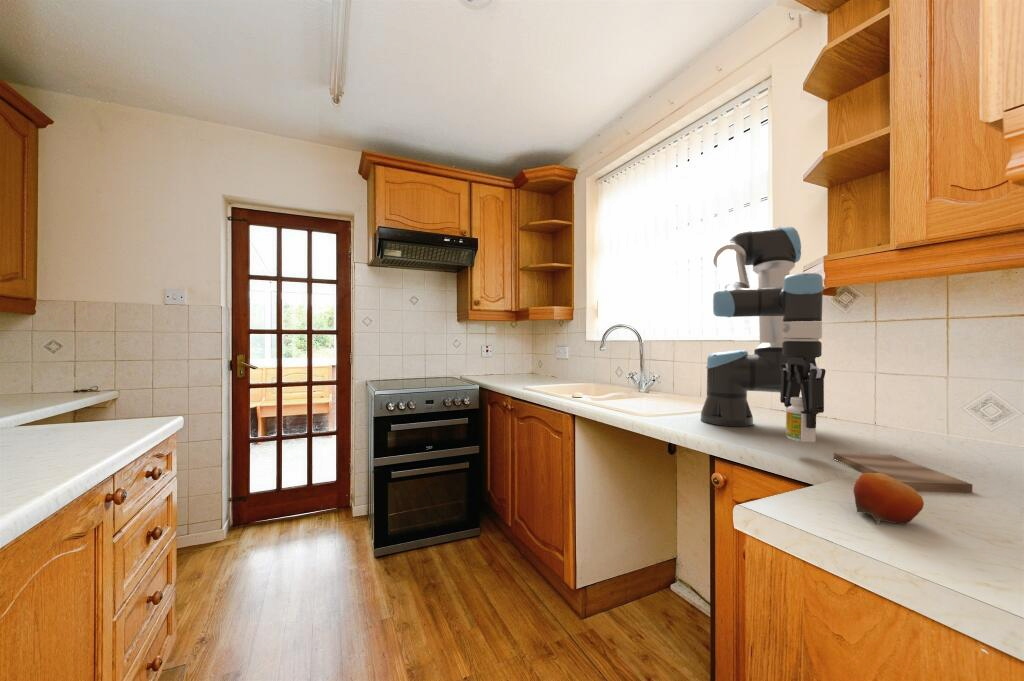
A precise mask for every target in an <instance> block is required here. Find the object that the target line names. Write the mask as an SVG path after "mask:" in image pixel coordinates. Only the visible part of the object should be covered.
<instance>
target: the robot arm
mask: <svg viewBox="0 0 1024 681" xmlns="http://www.w3.org/2000/svg"><path fill="white" fill-rule="evenodd" d="M801 256H802V243H801V238H800V234H799V233H798V231H797V229H796V228H795V227H792V226H777V227H770V228H769V227H767V228H757V229H750V230H748V229H747V230H739V231H736V232H734V233H731V234H730V235H728V236H726V237H724V238H723V239H722V240H721V241H720V242H719V243H718V244H717V245H716V247H715V249H714V250H713V255H712V260H713V261H712V262H713V265H714V266H715V268H717V276H718V287H719V289H716V290H714V292H713V296H712V309H713V310H712V312H713V315H714V316H716V317H721V318H722V317H723V318H735V317H736V318H737V317H739V318H740V317H741V318H742V317H758V318H759V319H758V322H759V327H758V328H759V330H758V331H759V344H758V345H757V346H756V347H755V348H754V350H753V351H754V352H753V353H754V354H749V353H748V350H746V349H745V350H743V349H742V350H741V349H740V350H739V349H738V350H730V351H720V352H713V353H711V354H709V355H708V356H707V358H706V359H707V362H706V363H707V364H706V367H705V368H706V369H707V370H706V398H705V401H704V404H703V406H702V410H701V411H700V412H701V413H700V420H701V421H702V422H704V423H708V424H713V425H717V426H725V427H749V426H752V425H754V416H753V413H752V411H751V408H750V405H749V402H748V392H762V393H763V392H765V393H766V392H767V393H779V394H780V396H779V398H780V399H779V400H780V403H781V404H784V407H785V408H786V409H785V420H786V421H785V433H786V432H787V408H788V407H789V406H791V405H792V404H791V402H790V400H791V397H800V395H801V397H802V401H803V408H804V411H801V441H800V442H803V443H804V442H805V443H806V442H807V443H816V437H817V436H816V433H817V429H816V428H817V415H819V414H821V413H824V412H825V376H826V372H827V371H826V369H825V368H819V367H818V366H817V362H816V358H820V357H822V356H823V355H822V354H823V353H822V352H823V351H822V348H823V346H822V343H823V342H822V341H821V340H819V339H823V318H822V317H823V294H824V293H823V291H824V289H825V288H824V287H825V286H823V284H824V283H823V276H822V274H820V273H816V272H815V273H814V272H813V273H812V272H810V273H795V274H790V272H791V271H792V270H793V269H794V268H795V267H796V263H798V262H799V261H800V260H801ZM746 266H752V271H753V272H754V273H756V274H757V276H758V279H757V280H758V281H757V282H758V287H751V286H750V282H749V278H748V273H747V270H746V269H747V268H746Z"/></svg>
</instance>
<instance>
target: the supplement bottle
mask: <svg viewBox="0 0 1024 681" xmlns="http://www.w3.org/2000/svg"><path fill="white" fill-rule="evenodd" d="M790 402H791V404H792V405H791V406H789V407H788V408H787V432H786V431H785V435H786V438H788V439H790V440H792V441H797V442H802V441H801V411H804V408H803V401H802V396H801V397H800V396H799V397H791V400H790Z"/></svg>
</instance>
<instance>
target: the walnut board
mask: <svg viewBox="0 0 1024 681" xmlns="http://www.w3.org/2000/svg"><path fill="white" fill-rule="evenodd" d="M834 459H836V460H838V461H840V462H842V463H844V464H843V465H845V464H846V465H845V466H847V465H848V466H847V467H849V466H850V467H849V468H851V467H852V468H851V469H853V468H854V469H853V470H856V471H859V472H860V473H862V474H865V473H882V474H886V475H888V476H889V477H892V478H894V479H897V480H898V481H900V482H902V483H904V484H906V485H908V486H910V487H912V488H913V489H914V490H915V491H919V492H921V491H925V492H926V491H927V492H946V493H947V492H951V493H973V483H970V482H967V481H964V480H961V479H960V478H956V477H954V476H951V475H948V474H945V473H942V472H941V471H937V470H934V469H931V468H928V467H926V466H923V465H920V464H918V463H916V462H912V461H909V460H906V459H904V458H902V457H898V456H895V455H893V454H879V453H878V454H877V453H849V452H848V453H844V452H841V453H840V452H833V460H834ZM836 460H835V461H836ZM838 461H837V462H838ZM840 462H839V463H840ZM842 463H841V464H842Z"/></svg>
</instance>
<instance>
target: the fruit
mask: <svg viewBox="0 0 1024 681" xmlns="http://www.w3.org/2000/svg"><path fill="white" fill-rule="evenodd" d="M853 495H854V501H855V502H854V503H855V507H856V513H864V514H867V515H870V516H871V517H872V518H873V520H875V525H877V526H878V524H879V523H880V522H889V523H893V524H902V525H904V524H905V525H906V524H909V523H911V521H912V520H913V519H915V517H916V516H918V515H919V513H920V512H921V511H922V510H923V507H924V505H925V503H924V499H923V496H922V495H921V494H919V492H917V490H914V489H913V488H912V487H910V486H908V485H906V484H904V483H902V482H900V481H898V480H897V479H894V478H892V477H889V476H888V475H886V474H882V473H865V474H864V473H862V474H861V475H859V477H858V478H857V479H856V481H855V483H854V485H853Z"/></svg>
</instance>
